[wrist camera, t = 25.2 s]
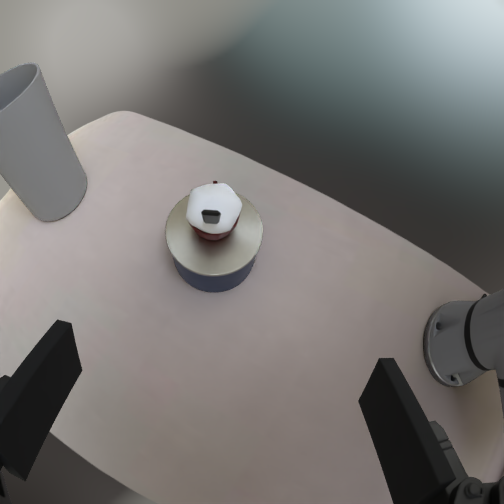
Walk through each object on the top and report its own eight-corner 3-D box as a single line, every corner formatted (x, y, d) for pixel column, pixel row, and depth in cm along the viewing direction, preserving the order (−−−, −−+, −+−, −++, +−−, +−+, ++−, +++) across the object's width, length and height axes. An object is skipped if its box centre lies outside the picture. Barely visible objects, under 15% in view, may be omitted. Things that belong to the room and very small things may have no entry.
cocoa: (206, 191, 41) (205, 126, 30) (249, 208, 40) (261, 146, 29) (172, 249, 37) (156, 194, 26) (218, 270, 36) (220, 220, 26)
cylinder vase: (21, 217, 44) (-49, 127, 22) (50, 164, 50) (1, 68, 27) (70, 228, 45) (-1, 123, 22) (98, 169, 50) (56, 58, 27)
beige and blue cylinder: (243, 211, 49) (248, 181, 42) (265, 283, 45) (275, 263, 38) (167, 225, 47) (159, 197, 40) (181, 301, 42) (173, 284, 35)
